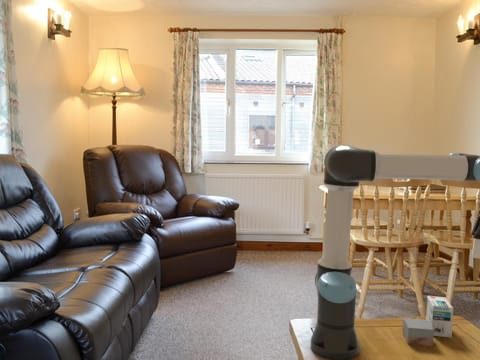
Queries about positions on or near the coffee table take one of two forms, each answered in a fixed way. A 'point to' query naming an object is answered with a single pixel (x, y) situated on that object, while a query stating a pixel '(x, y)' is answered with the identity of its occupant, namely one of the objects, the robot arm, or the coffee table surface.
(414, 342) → the walnut base block
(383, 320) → the coffee table surface
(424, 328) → the grey square tile
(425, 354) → the coffee table surface
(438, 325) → the light bulb box
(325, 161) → the robot arm
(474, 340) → the coffee table surface
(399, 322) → the coffee table surface
